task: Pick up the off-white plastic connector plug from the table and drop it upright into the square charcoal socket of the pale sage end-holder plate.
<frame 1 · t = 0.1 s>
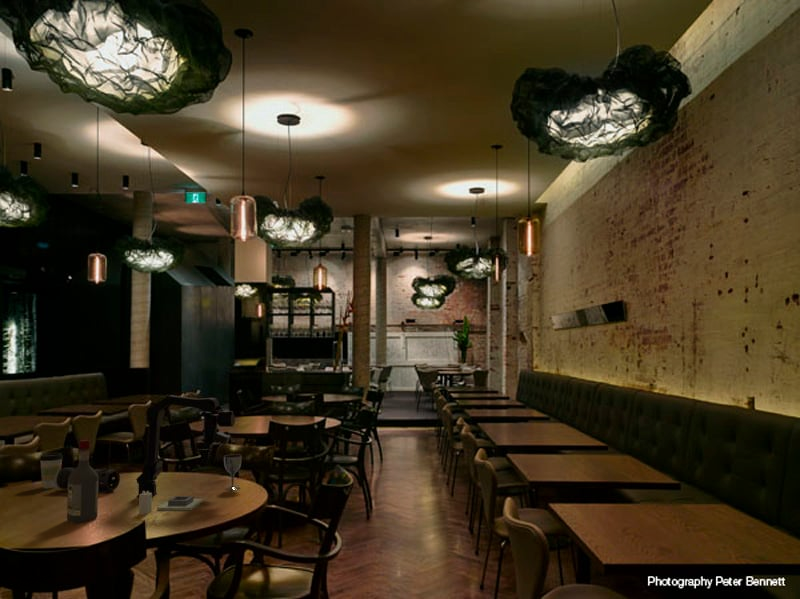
hand: (209, 462, 272), 15 cm above the table, tool pointing down, fingers open, 9 cm apart
coffee cup: (50, 487, 291), on the table
end holder: (180, 505, 256), on the table
liquor: (82, 520, 236), on the table
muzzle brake: (86, 492, 282), on the table
wine glass: (232, 489, 285), on the table
connector plug: (145, 512, 245), on the table
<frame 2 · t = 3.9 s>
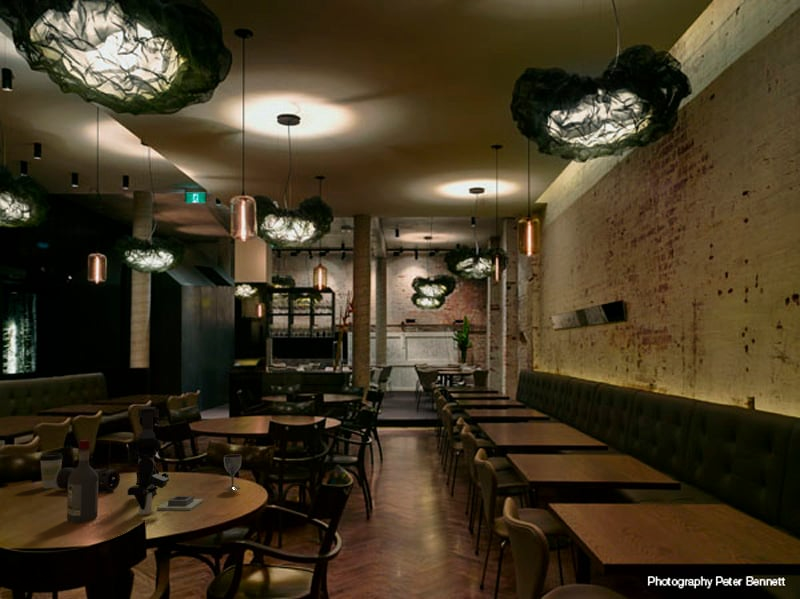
hand: (145, 508, 245), 2 cm above the table, tool pointing down, fingers closed on connector plug, 3 cm apart
connector plug: (145, 512, 245), on the table, touching gripper
everything else where it was.
when the fingers open (4 cm above the table, at t = 8.2 s): connector plug drops 1 cm, resting on end holder.
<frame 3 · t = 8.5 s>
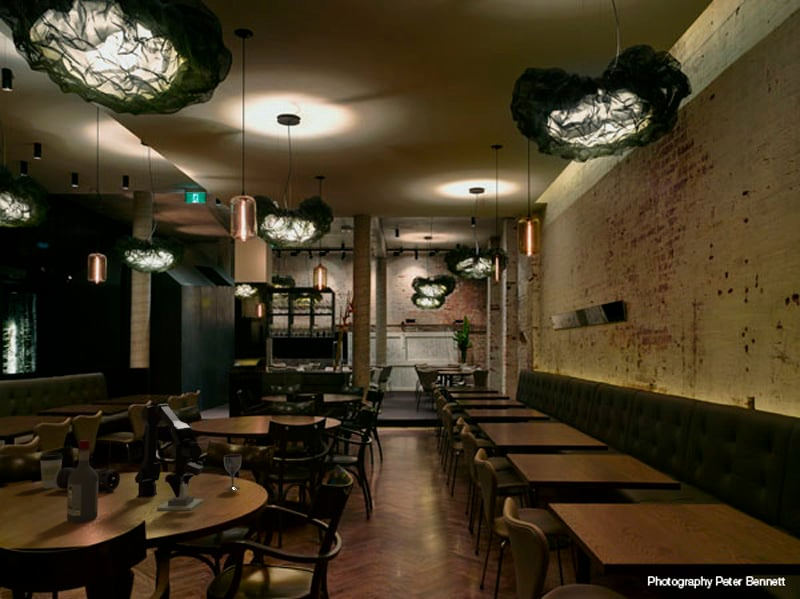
hand: (181, 495, 256), 4 cm above the table, tool pointing down, fingers open, 7 cm apart
connector plug: (181, 503, 256), point 1 cm above the table, touching end holder
everything else where it was.
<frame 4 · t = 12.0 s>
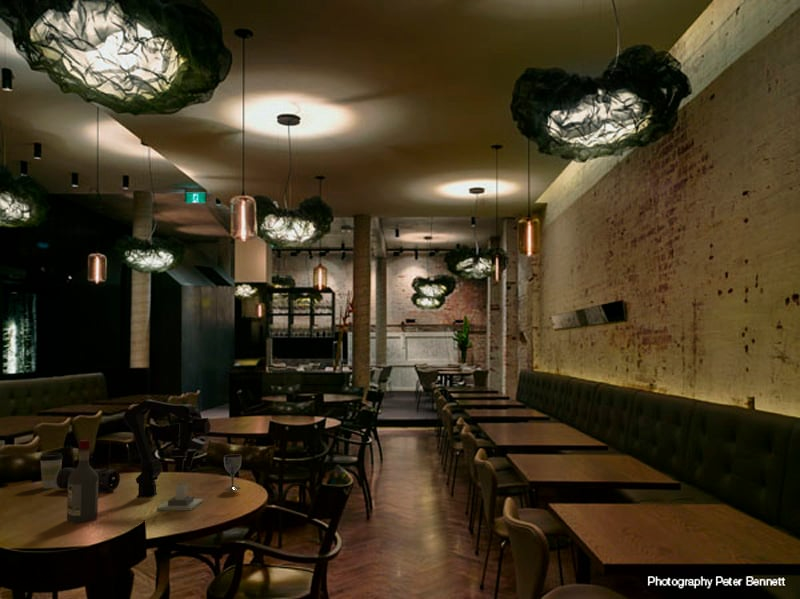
hand: (185, 469, 271), 12 cm above the table, tool pointing down, fingers open, 9 cm apart
nothing on the table moved.
at the end: connector plug 0.0 cm off-centre on the end holder, point 1.0 cm above the end holder's base; connector plug tilted 0°; the gripper is holding nothing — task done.
